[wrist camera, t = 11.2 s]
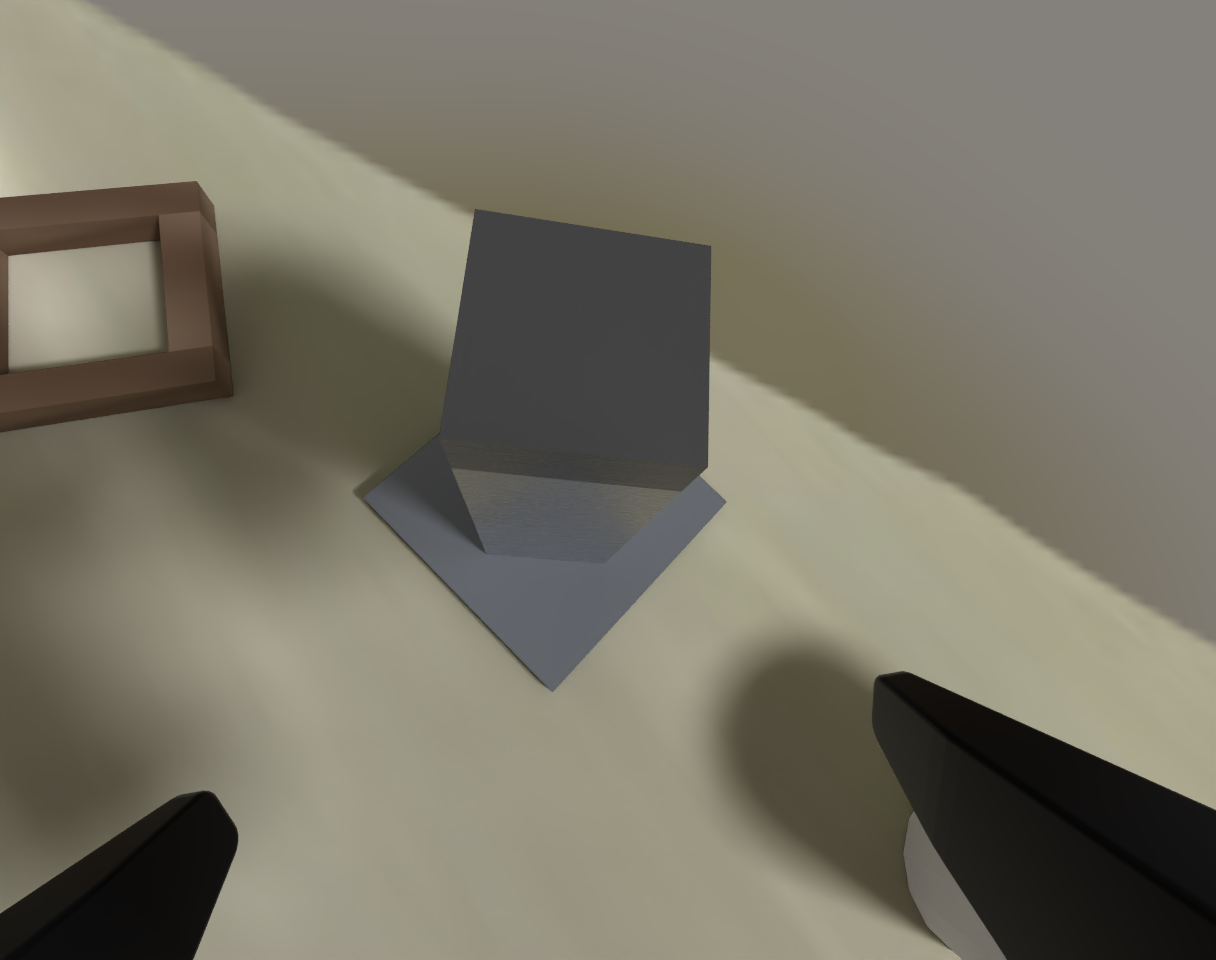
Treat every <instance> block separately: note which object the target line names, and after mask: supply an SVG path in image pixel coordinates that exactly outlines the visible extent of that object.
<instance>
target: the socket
mask: <svg viewBox="0 0 1216 960" xmlns="http://www.w3.org/2000/svg"><path fill="white" fill-rule="evenodd" d="M155 240H161V254H162V267H163V280H164V293H165V307H166V320H167V333H168V346H169V352H163V353H156V354H149V355H142V356H134V357H127V358H120V359H113V360H106V361H98V362H91V363H84V364H77V365H69V366H62V367H55V368H48V369H41V370H33V371H26V372H19V373H12V374H8V255H18V254H28V253H38V252H47V251H57V250H67V249H77V248H86V247H96V246H106V245H116V244H125V243H135V242H145V241H155ZM229 396H233V388H232V378H231V369H230V359H229V349H228V339H227V330H226V320H225V310H224V300H223V291H222V281H221V271H220V261H219V252H218V242H217V232H216V223H215V213H214V205H213V204H212V202H211V201H210V199H209V198H208V197H207V195H206V194H205V192H204V191H203V190H202V188H201V187H200V185H199V184H198V182H197V181H193V182H181V183H169V184H157V185H146V186H134V187H122V188H110V189H98V190H87V191H75V192H63V193H51V194H39V195H28V196H16V197H4V198H0V432H4V431H10V430H17V429H23V428H30V427H36V426H43V425H49V424H55V423H62V422H68V421H75V420H81V419H87V418H94V417H100V416H107V415H113V414H120V413H126V412H132V411H139V410H145V409H152V408H158V407H165V406H171V405H177V404H184V403H190V402H197V401H203V400H209V399H216V398H222V397H229Z"/></svg>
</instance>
